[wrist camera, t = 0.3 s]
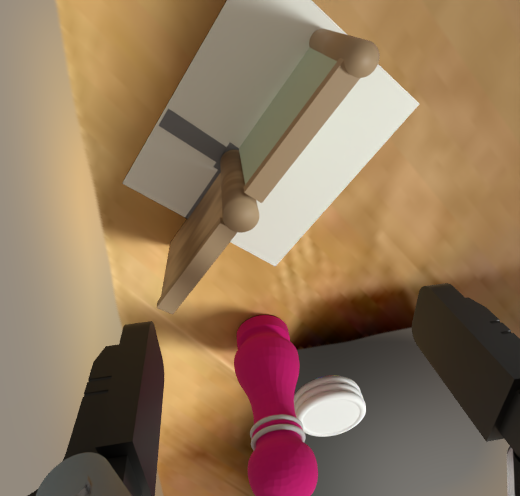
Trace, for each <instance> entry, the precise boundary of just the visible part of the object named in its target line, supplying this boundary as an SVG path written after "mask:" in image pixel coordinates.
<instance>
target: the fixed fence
mask: <svg viewBox="0 0 520 496" xmlns="http://www.w3.org/2000/svg"><path fill="white" fill-rule="evenodd" d="M220 169H221V173H220V174H219V175H218V177H217V178H216V180H215V181H214V182H213V184H212V185H211V187H210V188H209V190H208V191H207V193H206V194H205V195H204V197H203V198H202V200H201V201H200V203H199V204H198V205H197V207H196V208H195V210H194V211H193V213H192V214H191V215H190V217H189V218H188V219H187V220H186V221H185V222H184V224H183V225H182V227H181V228H180V230H179V231H178V233H177V234H176V235H175V237H174V238H173V240H172V241H171V243H170V247H169V253H168V259H167V265H166V271H165V277H164V282H163V288H162V294H161V297H160V299H159V300H158V303H157V308H158V309H160V310H163V311H165V312H168V313H170V314H174V312H175V311H176V310H177V309H178V307H179V306H180V305H181V304H182V302H183V301H184V300H185V298H186V297H187V296H188V295H189V293H190V292H191V291H192V290H193V288H194V287H195V286H196V284H197V283H198V282H199V281H200V279H201V278H202V277H203V276H204V274H205V273H206V272H207V271H208V269H209V268H210V267H211V265H212V264H213V263H214V262H215V260H216V259H217V258H218V257H219V255H220V254H221V253H222V251H223V250H224V249H225V248H226V246H227V245H228V244H229V243H230V241H231V240H232V239H233V237H234V236H235V235H236V234H237V232H239V233H242V232H247V231H250V230H251V229H253V228H254V227H255V226H256V225H257V223H258V221H259V210H258V206H257V201H256V200H255V199H254V198H252V197H251V196H249V195H247V194H246V193H244V188H243V187H244V186H245V181H244V175H243V170H242V164H241V158H240V153H239V150H229V151H227V152H225V153H224V154H223V155H222V157H221V160H220Z"/></svg>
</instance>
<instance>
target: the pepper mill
mask: <svg viewBox="0 0 520 496" xmlns="http://www.w3.org/2000/svg"><path fill="white" fill-rule="evenodd" d="M237 347H238V351H237V352H236V355H235V358H234V367H235V373H236V376H237V379H238V381H239V383H240V385H241V387H242V388H243V390H244V391H245V393H246V394H247V396H248V398H249V400H250V403H251V406H252V410H253V415H254V426H253V427H252V429H251V431H250V436H251V439H252V440H251V446H252V448H253V450H254V452H253V453H252V455H251V457H250V459H249V463H248V478H249V483H250V486H251V488H252V491H253V493H254V494H255V496H311V494H312V493H313V491H314V489H315V487H316V483H317V478H318V470H317V462H316V458H315V456H314V453H313V451H312V450H311V448H310V447H309V446H308V445H306V444H305V443H304V441H305V433H304V432H303V424H302V422H301V421H300V420H299V419H298V418H297V417H296V414H295V409H294V393H295V387H296V383H297V379H298V375H299V358H298V353H297V350H296V348H295V346H294V345H293V344H292V343H291V342H290V337H289V332H288V328H287V326H286V324H285V323H284V322H283V321H282V320H281V319H279V318H277V317H275V316H270V315H259V316H255V317H252V318H250V319H248V320H246V321H245V322H244V323H243V324H241V326H240V327H239V329H238V331H237Z"/></svg>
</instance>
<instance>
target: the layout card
mask: <svg viewBox="0 0 520 496" xmlns="http://www.w3.org/2000/svg"><path fill="white" fill-rule="evenodd" d="M318 29H327V30H331V31H335V32H338V33H342V34H346V33H345V32H344V31H343V30H342V29H341V28H340V27H339V26H338V25H337V24H336V23H335V22H334V21H332V20H331V19H330V18H329V17H328V16H327V15H326V14H325V13H324V12H323V11H322V10H321V9H320V8H319V7H318V6H317V5H316V4H315V3H314V2H313V1H312V0H227V1H226V3H225V5H224V6H223V8H222V10H221V12H220V13H219V15H218V17H217V19H216V20H215V22H214V24H213V26H212V27H211V29H210V31H209V33H208V34H207V36H206V38H205V40H204V41H203V43H202V45H201V47H200V48H199V50H198V52H197V54H196V55H195V57H194V59H193V61H192V62H191V64H190V66H189V68H188V69H187V71H186V73H185V75H184V76H183V78H182V80H181V82H180V83H179V85H178V87H177V89H176V90H175V92H174V94H173V95H172V97H171V99H170V101H169V102H168V104H167V106H166V108H165V109H164V111H163V113H162V115H161V116H160V118H159V120H158V122H157V123H156V125H155V127H154V129H153V130H152V132H151V134H150V136H149V137H148V139H147V141H146V143H145V144H144V146H143V148H142V150H141V151H140V153H139V155H138V157H137V158H136V160H135V162H134V164H133V165H132V167H131V169H130V171H129V172H128V174H127V176H126V178H125V179H124V181H123V183H122V184H124V185H126V186H128V187H130V188H131V189H133V190H135V191H137V192H139V193H141V194H143V195H144V196H146V197H148V198H150V199H152V200H154V201H155V202H157V203H159V204H161V205H163V206H165V207H167V208H168V209H170V210H172V211H174V212H176V213H178V214H179V215H181V216H183V217H185V218H186V219H188V218H189V217H190V215H191V214H192V213H193V211H194V210H195V208H196V207H197V205H198V204H199V203H200V201H201V200H202V198H203V197H204V195H205V194H206V193H207V191H208V190H209V188H210V187H211V185H212V184H213V182H214V181H215V180H216V178H217V177H218V175H219V174H220V173H221V169H220V160H221V157H222V155H223V154H224V153H225V152H227V151H229V150H239V147H240V146H241V145H242V143H243V142H244V140H245V139H246V138H247V136H248V135H249V133H250V132H251V130H252V129H253V128H254V126H255V125H256V123H257V122H258V120H259V119H260V118H261V116H262V115H263V113H264V112H265V110H266V109H267V108H268V106H269V105H270V103H271V102H272V100H273V99H274V98H275V96H276V95H277V93H278V92H279V90H280V89H281V88H282V86H283V85H284V83H285V82H286V80H287V79H288V78H289V76H290V75H291V73H292V72H293V70H294V69H295V68H296V66H297V65H298V63H299V62H300V60H301V59H302V58H303V56H304V55H305V53H306V52H307V50H308V49H309V48H310V47H309V41H310V37H311V35H312V34H313V33H314V32H315V31H316V30H318ZM346 35H347V34H346ZM418 105H419V103H418V102H417V101H416V100H415V99H414V98H413V97H412V96H411V95H410V94H409V93H408V92H407V91H406V90H405V89H403V88H402V87H401V86H400V85H399V84H398V83H397V82H396V81H395V80H394V79H393V78H392V77H391V76H390V75H389V74H388V73H387V72H386V71H385V70H384V69H383V68H382V67H381V66H379V65H377V67H376V69H375V70H374V71H373V72H372V73H371V74H370V75H368V76H367V77H364V78H360V79H359V81H358V82H357V83H356V84H355V86H354V87H353V88H352V89H351V91H350V92H349V93H348V95H347V96H346V97H345V98H344V100H343V101H342V102H341V103H340V105H339V106H338V107H337V108H336V110H335V111H334V112H333V114H332V115H331V116H330V117H329V119H328V120H327V121H326V122H325V124H324V125H323V126H322V127H321V129H320V130H319V131H318V133H317V134H316V135H315V136H314V138H313V139H312V140H311V141H310V143H309V144H308V145H307V147H306V148H305V149H304V150H303V152H302V153H301V154H300V155H299V157H298V158H297V159H296V160H295V162H294V163H293V164H292V166H291V167H290V168H289V169H288V171H287V172H286V173H285V174H284V176H283V177H282V178H281V180H280V181H279V182H278V183H277V185H276V186H275V187H274V188H273V190H272V191H271V192H270V193H269V195H268V196H267V197H266V199H265V200H264V201H263V202H262V203H260V202H259V201H257V200H256V201H257V206H258V210H259V221H258V223H257V225H256V226H255V227H254V228H253V229H251V230H250V231H247V232H242V233H239V232H237V234H236V235H235V236H234V237H233V239H232V240H231V241H230V242H231V243H233V244H235V245H237V246H239V247H240V248H242V249H244V250H246V251H248V252H250V253H251V254H253V255H255V256H257V257H259V258H261V259H263V260H264V261H266V262H268V263H270V264H272V265H274V266H276V265H277V264H278V263H279V262H280V261H281V259H282V258H283V257H284V256H285V255H286V254H287V253H288V252H289V250H290V249H291V248H292V247H293V246H294V245H295V244H296V242H297V241H298V240H299V239H300V238H301V237H302V236H303V235H304V233H305V232H306V231H307V230H308V229H309V228H310V227H311V226H312V224H313V223H314V222H315V221H316V220H317V219H318V218H319V217H320V215H321V214H322V213H323V212H324V211H325V210H326V209H327V208H328V206H329V205H330V204H331V203H332V202H333V201H334V200H335V199H336V197H337V196H338V195H339V194H340V193H341V192H342V191H343V190H344V188H345V187H346V186H347V185H348V184H349V183H350V182H351V181H352V179H353V178H354V177H355V176H356V175H357V174H358V173H359V171H360V170H361V169H362V168H363V167H364V166H365V165H366V164H367V162H368V161H369V160H370V159H371V158H372V157H373V156H374V155H375V153H376V152H377V151H378V150H379V149H380V148H381V147H382V146H383V144H384V143H385V142H386V141H387V140H388V139H389V138H390V137H391V135H392V134H393V133H394V132H395V131H396V130H397V129H398V128H399V126H400V125H401V124H402V123H403V122H404V121H405V120H406V119H407V117H408V116H409V115H410V114H411V113H412V112H413V111H414V109H415V108H416V107H417V106H418Z"/></svg>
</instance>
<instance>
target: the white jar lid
mask: <svg viewBox="0 0 520 496" xmlns="http://www.w3.org/2000/svg"><path fill="white" fill-rule="evenodd" d="M294 409H295V414H296V417H297V418H298V419H299V420H300V421H301V422H302V424H303V432H305V433H307V434H310V435H313V436H332V435H337V434H340V433H343V432H346V431H348V430H350V429H351V428H353V427H355V426H356V425H357V424H358V423H359V422H360V421H361V420H362V419H363V417H364V415H365V413H366V404H365V402H364V400H363V396H362V394H361V392H360V388H359V387H358V385H357V384H356V383H355V382H354V381H353V380H351V379H349V378H346V377H342V376H325V377H320V378H316V379H314V380H312V381H310V382H308V383H306V384H305V385H303V386H302V387H301V388H299V390H298V391H297V392H296V393H295V395H294Z"/></svg>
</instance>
